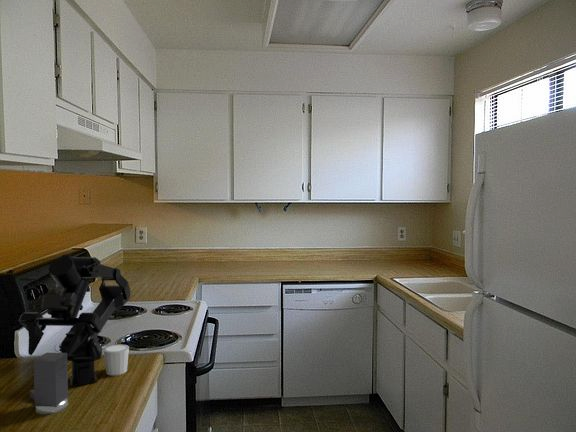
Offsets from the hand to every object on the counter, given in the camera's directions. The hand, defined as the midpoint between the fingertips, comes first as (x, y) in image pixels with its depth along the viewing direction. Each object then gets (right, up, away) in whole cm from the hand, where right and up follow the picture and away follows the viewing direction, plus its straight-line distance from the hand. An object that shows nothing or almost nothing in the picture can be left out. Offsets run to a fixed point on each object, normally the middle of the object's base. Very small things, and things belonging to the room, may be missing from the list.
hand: (49, 354), depth 104 cm
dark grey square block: (0, -12, +2) cm, 12 cm away
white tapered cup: (+7, -13, +24) cm, 28 cm away
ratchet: (-3, -13, +4) cm, 14 cm away
